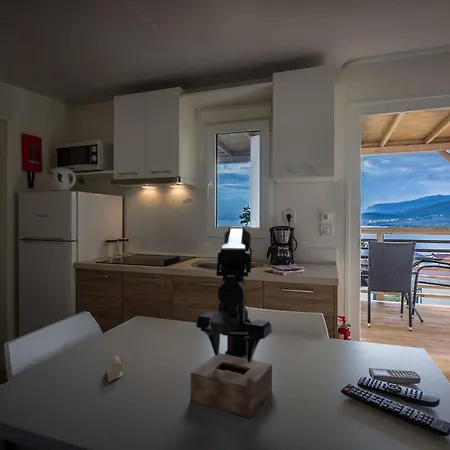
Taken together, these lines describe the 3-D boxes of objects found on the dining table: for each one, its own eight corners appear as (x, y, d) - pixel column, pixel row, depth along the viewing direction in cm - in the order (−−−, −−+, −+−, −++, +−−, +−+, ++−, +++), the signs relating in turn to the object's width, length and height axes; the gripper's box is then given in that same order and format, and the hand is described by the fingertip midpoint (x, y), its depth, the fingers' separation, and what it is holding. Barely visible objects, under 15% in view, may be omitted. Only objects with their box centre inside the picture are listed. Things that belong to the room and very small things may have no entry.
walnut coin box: (190, 400, 82) (190, 372, 82) (218, 377, 95) (218, 352, 95) (250, 418, 75) (250, 387, 75) (271, 391, 87) (272, 364, 87)
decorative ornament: (121, 369, 100) (121, 351, 100) (124, 381, 92) (124, 362, 92) (106, 371, 98) (107, 353, 98) (108, 384, 91) (108, 364, 91)
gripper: (184, 299, 82) (183, 362, 82) (255, 308, 73) (254, 379, 73) (207, 290, 92) (207, 347, 92) (272, 298, 83) (271, 361, 83)
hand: (232, 358), depth 85 cm, fingers open, 9 cm apart
